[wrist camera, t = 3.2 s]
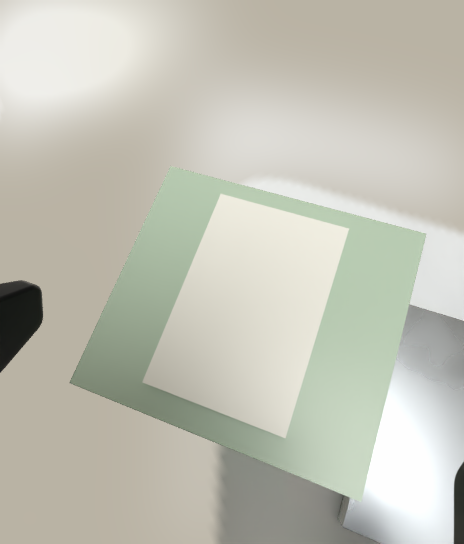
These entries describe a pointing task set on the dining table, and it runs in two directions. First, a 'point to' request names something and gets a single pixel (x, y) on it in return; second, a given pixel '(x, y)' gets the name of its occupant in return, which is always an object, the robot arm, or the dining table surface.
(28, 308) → the robot arm
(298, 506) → the dining table surface
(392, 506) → the grey base with block
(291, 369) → the block
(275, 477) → the dining table surface
